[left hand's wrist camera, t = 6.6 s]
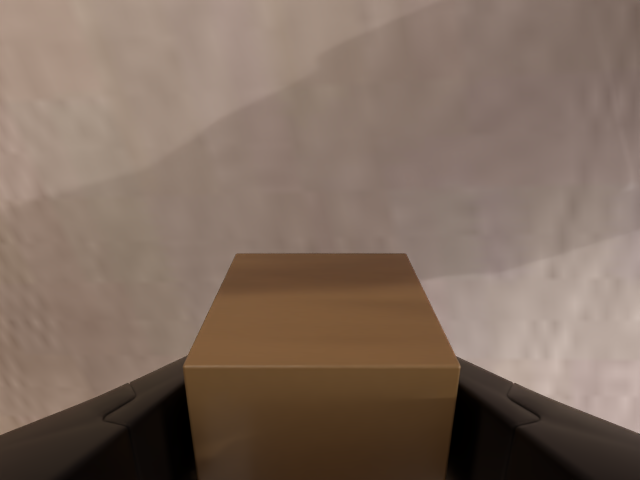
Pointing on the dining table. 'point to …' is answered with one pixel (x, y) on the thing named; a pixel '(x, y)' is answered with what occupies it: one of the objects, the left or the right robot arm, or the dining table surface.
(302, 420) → the block
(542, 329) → the dining table surface
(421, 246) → the dining table surface
